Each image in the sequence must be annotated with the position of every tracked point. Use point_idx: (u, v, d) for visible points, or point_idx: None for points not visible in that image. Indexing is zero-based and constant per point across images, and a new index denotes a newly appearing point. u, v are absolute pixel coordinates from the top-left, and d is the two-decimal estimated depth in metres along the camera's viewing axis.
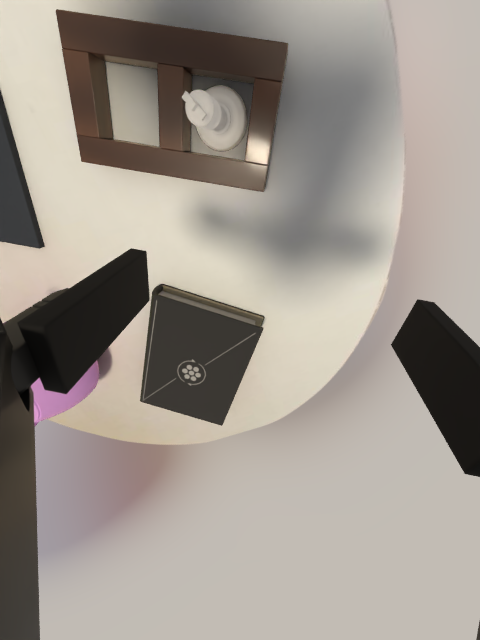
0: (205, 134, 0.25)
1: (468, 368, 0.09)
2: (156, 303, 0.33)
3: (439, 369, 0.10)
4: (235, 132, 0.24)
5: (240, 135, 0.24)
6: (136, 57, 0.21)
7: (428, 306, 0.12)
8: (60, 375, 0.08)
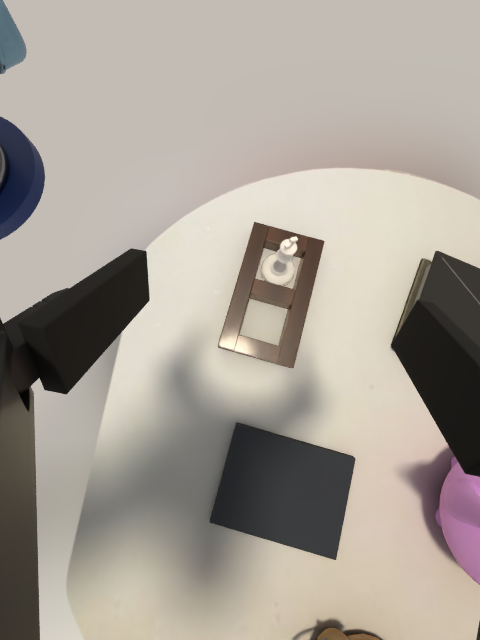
0: (285, 278, 0.37)
1: (468, 368, 0.09)
2: None
3: (439, 369, 0.10)
4: None
5: None
6: (245, 304, 0.35)
7: (428, 306, 0.12)
8: (60, 375, 0.08)
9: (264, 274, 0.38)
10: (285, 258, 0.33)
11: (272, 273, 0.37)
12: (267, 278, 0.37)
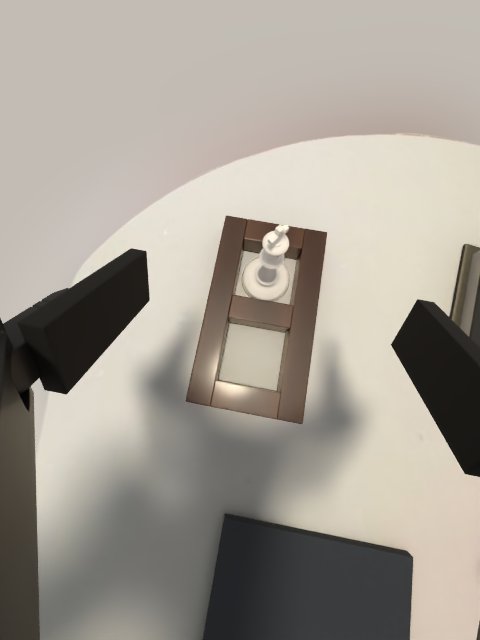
0: (277, 290, 0.26)
1: (468, 368, 0.09)
2: None
3: (439, 369, 0.10)
4: None
5: None
6: (223, 334, 0.24)
7: (428, 306, 0.12)
8: (60, 375, 0.08)
9: (247, 287, 0.26)
10: (273, 261, 0.22)
11: (258, 284, 0.26)
12: (252, 293, 0.26)
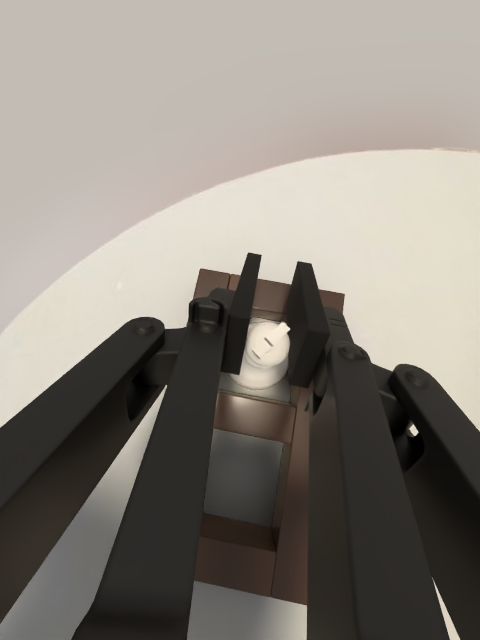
0: (273, 375, 0.18)
1: (301, 304, 0.11)
2: None
3: (294, 312, 0.12)
4: None
5: None
6: None
7: (302, 266, 0.14)
8: (242, 358, 0.10)
9: None
10: None
11: (245, 368, 0.18)
12: (237, 378, 0.18)
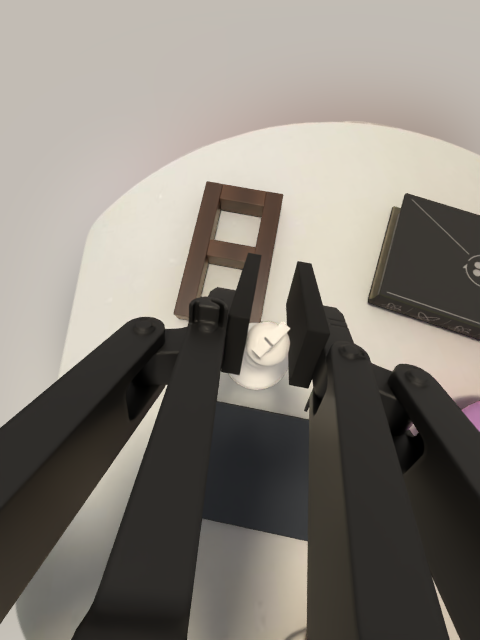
0: (273, 375, 0.18)
1: (301, 304, 0.11)
2: (391, 293, 0.31)
3: (294, 312, 0.12)
4: None
5: None
6: (202, 267, 0.32)
7: (302, 265, 0.14)
8: (242, 358, 0.10)
9: None
10: None
11: (245, 367, 0.18)
12: (237, 378, 0.18)
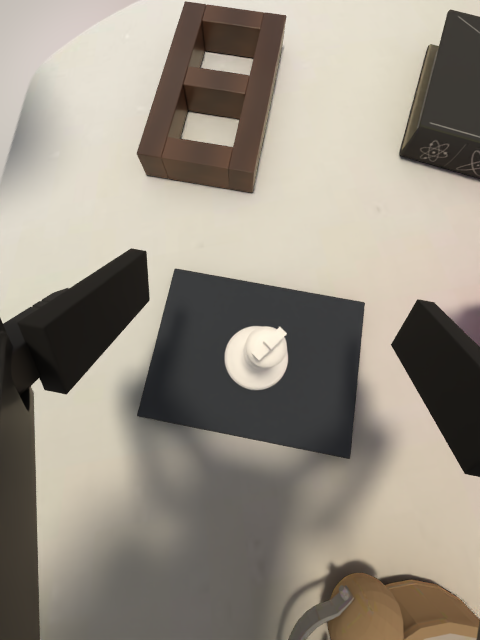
0: (271, 376, 0.19)
1: (468, 368, 0.09)
2: (435, 124, 0.22)
3: (439, 369, 0.10)
4: None
5: None
6: (176, 98, 0.24)
7: (428, 306, 0.12)
8: (60, 375, 0.08)
9: (231, 371, 0.19)
10: None
11: (245, 369, 0.19)
12: (237, 379, 0.19)
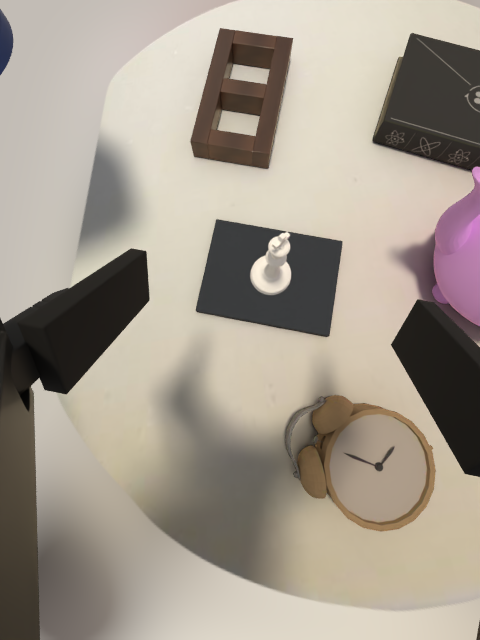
0: (280, 284, 0.31)
1: (468, 368, 0.09)
2: (394, 119, 0.33)
3: (439, 369, 0.10)
4: None
5: None
6: (216, 101, 0.34)
7: (428, 306, 0.12)
8: (60, 375, 0.08)
9: (254, 281, 0.31)
10: (277, 260, 0.26)
11: (264, 279, 0.30)
12: (259, 286, 0.31)
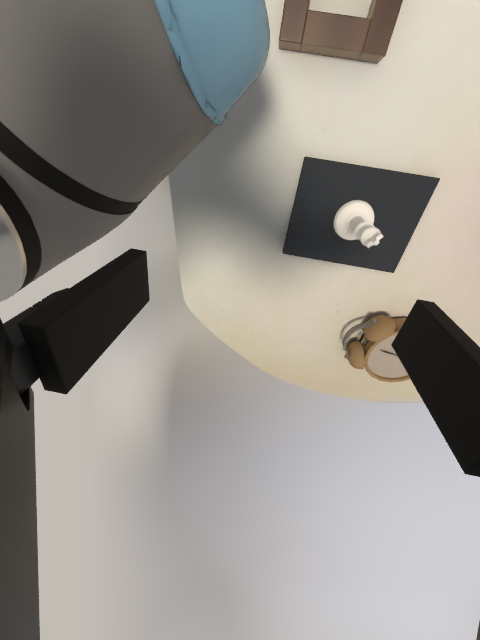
0: None
1: (468, 368, 0.09)
2: None
3: (439, 369, 0.10)
4: (366, 209, 0.33)
5: (368, 205, 0.33)
6: None
7: (428, 306, 0.12)
8: (60, 375, 0.08)
9: (337, 230, 0.34)
10: None
11: (347, 230, 0.34)
12: (341, 235, 0.35)
